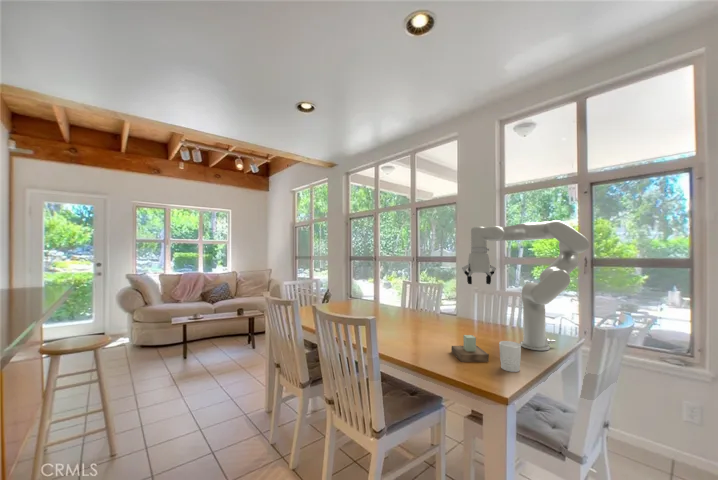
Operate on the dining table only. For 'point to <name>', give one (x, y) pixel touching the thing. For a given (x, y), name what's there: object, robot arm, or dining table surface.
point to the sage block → (469, 343)
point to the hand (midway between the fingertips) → (479, 284)
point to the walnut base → (470, 354)
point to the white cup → (510, 355)
